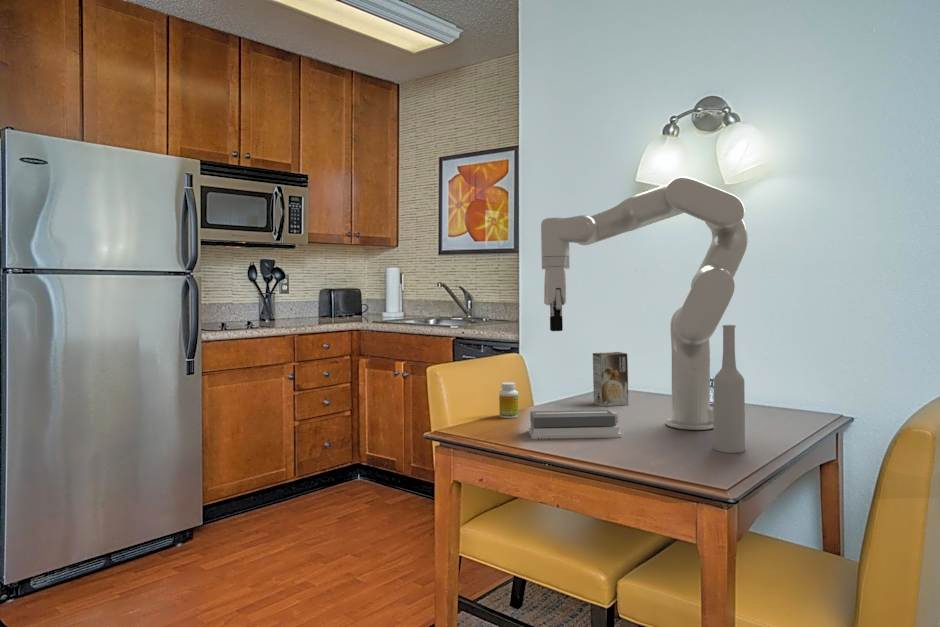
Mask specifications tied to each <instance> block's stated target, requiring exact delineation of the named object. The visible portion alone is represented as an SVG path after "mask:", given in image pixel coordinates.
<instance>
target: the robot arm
mask: <svg viewBox="0 0 940 627" xmlns="http://www.w3.org/2000/svg"><path fill="white" fill-rule="evenodd" d="M745 210H746V209H745V205H744V203H743V202H742V200H741V199H740V198H739V197H737V196H736V195H734V194H732V193H730V192H727V191H726V190H722V189H720V188H717V187H714V186H712V185H710V184H707V183H706V182H703V181H701V180H700V181H699V180H698V179H695V178H692V177H689V176H678V177H674V178H673V179H672V180H671V181H670V182H669V183H667V184H664V185H661V186H659V187H656V188H653V189H650V190H648V191H645V192H641V193H638V194H635V195H632V196H630V197H627V198H626V199H623V201H621V202H620V203H619V204H617V205H615V206H613V207H611V208H610V209H607V210H604V211H602V212H598V213H595V214H593V215H590V216H588V215H581V214H579V215H577V216H570V217H547V218H545V219H543V220H542V221H541V223H540V236H541V237H540V238H541V240H540V242H541V244H540V246H541V247H540V248H541V270H544V290H543V292H544V294H543V296H544V297H543V303H544V305H546V306H549V308H550V309H549V312H550V313H549V314H550V316H549V330H550V332H562V331H563V330H564V329H563V325H564V324H563V306H564V305H566V303H567V278H566V277H567V276H566V275H567V274H566V270H570V243H574V244H578V245H580V246H588V245H592V244H596V243H598V242H602V241H604V240H607V239H611V238H612V237H615V236H618V235H621V234H624V233H628V232H632V231H635V230H638V229H641V228H644V227H646V226H649V225H652V224H655V223H657V222H661V221H663V220H667V219H670V218H673V217H676V216H679V215H682V214H684V213H685V214H687V215H689V216H691V217H694V218H695V219H698V220H701V221H703V222H704V223H705V225H706V226H707V227H708V228H709V230H710V232H711V235H712V236H711V237H712V239H711V243H710V245H709V247H708V250H707V252H706V254H705V256H704V259H703V260H702V262H701V264H700V266H699V268H698V270H697V271H696V273H695V275H694V276H693V278H692V279H691V283H690V290H689V292H688V294H687V297H686V299H685V300H684V302H683V304H682V306H681V307H679V308H677V310H676V311H675V312H674V313H673V314H672V317H671V320H670V340H671V341H670V343H671V345H670V346H671V417H668V418H666V419H665V424H666V425H667V426H668V427H670V428H674V429H679V430H688V431H689V430H690V431H705V430H706V431H707V430H711V429H712V430H713V413H714V408H711V402H710V401H711V394H710V393H711V382H710V381H711V380H710V379H711V377H710V376H711V375H710V374H711V372H710V370H711V368H710V367H711V350H710V348H711V346H710V338H711V337H712V336H713V334H714V332H715V331H716V329H717V327H718V325H719V323H720V321H721V320H722V318H723V315H724V314H725V312H726V310H727V308H728V306H729V305H730V302H731V301H732V299H733V298H732V297H733V295H734V293H735V288H736V286H735V280H734V277H735V275H736V273H737V271H738V268H739V267H740V264H741V262H742V260H743V258H744V255H745V253H746V250H747V246H748V232H747V227H746V224H745V222H744V220H743V219H744V216H745Z"/></svg>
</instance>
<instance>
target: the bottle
mask: <svg viewBox="0 0 940 627" xmlns="http://www.w3.org/2000/svg"><path fill="white" fill-rule="evenodd" d="M736 327H737V326H736V325H735V324H724V325H722V329H723V330H722V359H721V362H722V363H721V368H720V370H719V371H718V372H717V373H716V374H715V376H713V410H714V413H713V428H712V430H713V431H712V435H713V438H712V439H713V440H712V441H713V445H712V446H713V447H712V448H713V450H714V451H716V452H720V453H726V454H741V453H744V452H745V451H746V431H745V430H746V421H745V420H746V419H745V418H746V414H745V412H746V411H745V410H746V408H745V404H746V403H745V400H746V399H745V378H744V376H743V375H742V374H741V372H740V371H739V370H738V369H737V363H736V362H737V360H736V340H735V339H736V336H735V334H736V333H735V331H736V329H735V328H736Z"/></svg>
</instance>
